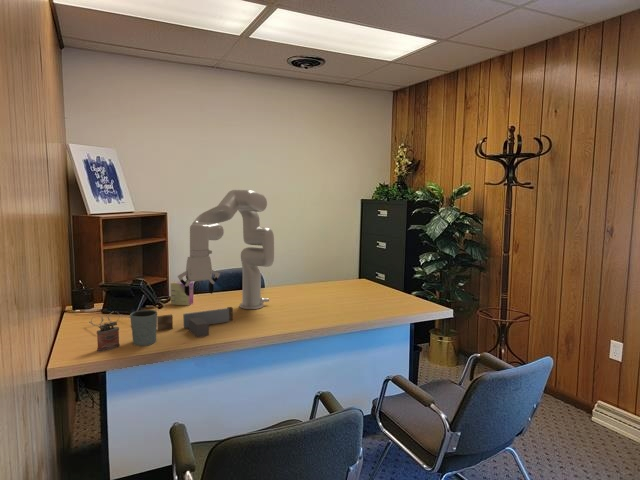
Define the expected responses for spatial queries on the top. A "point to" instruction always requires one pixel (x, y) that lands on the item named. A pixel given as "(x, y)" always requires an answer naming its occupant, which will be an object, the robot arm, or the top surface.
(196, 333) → the dark boxy piece
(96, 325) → the eyeglasses
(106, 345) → the lighter
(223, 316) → the blue-grey long block
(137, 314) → the grey-green cup
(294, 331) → the top surface
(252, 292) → the robot arm
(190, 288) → the box
